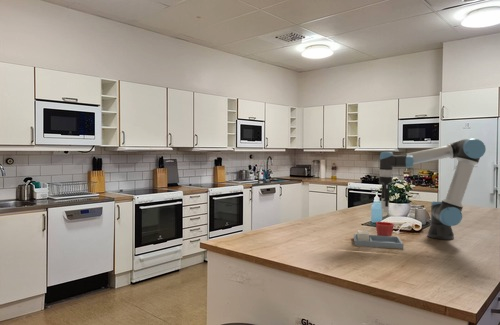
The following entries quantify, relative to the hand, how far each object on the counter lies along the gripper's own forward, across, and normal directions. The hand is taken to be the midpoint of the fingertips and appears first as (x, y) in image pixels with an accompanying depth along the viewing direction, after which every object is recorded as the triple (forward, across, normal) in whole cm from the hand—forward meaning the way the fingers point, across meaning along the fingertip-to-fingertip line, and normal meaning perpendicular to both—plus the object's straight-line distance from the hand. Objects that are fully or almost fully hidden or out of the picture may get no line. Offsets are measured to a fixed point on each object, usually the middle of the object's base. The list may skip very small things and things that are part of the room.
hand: (384, 210), depth 230 cm
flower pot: (+18, 0, 0) cm, 18 cm away
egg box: (+17, +17, -14) cm, 28 cm away
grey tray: (+18, +17, -6) cm, 25 cm away
